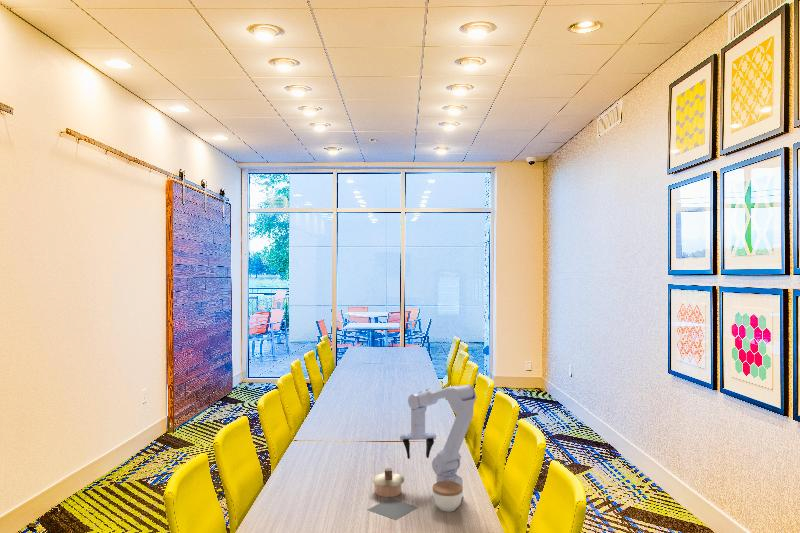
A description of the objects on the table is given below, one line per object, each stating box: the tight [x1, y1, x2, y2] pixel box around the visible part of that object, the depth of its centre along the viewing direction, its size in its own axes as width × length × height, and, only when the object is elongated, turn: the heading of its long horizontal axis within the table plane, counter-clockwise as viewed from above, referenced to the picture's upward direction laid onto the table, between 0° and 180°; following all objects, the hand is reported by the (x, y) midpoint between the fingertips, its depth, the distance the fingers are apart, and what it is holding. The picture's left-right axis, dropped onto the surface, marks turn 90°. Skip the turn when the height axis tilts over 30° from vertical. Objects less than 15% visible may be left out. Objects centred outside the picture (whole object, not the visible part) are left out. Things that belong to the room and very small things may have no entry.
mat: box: [367, 497, 419, 521], centre depth 199 cm, size 13×13×1 cm
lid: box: [372, 467, 405, 487], centre depth 214 cm, size 12×12×4 cm
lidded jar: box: [432, 481, 464, 513], centre depth 200 cm, size 11×11×9 cm
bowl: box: [374, 483, 403, 498], centre depth 215 cm, size 10×10×4 cm
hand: (417, 457), depth 223 cm, fingers open, 7 cm apart
